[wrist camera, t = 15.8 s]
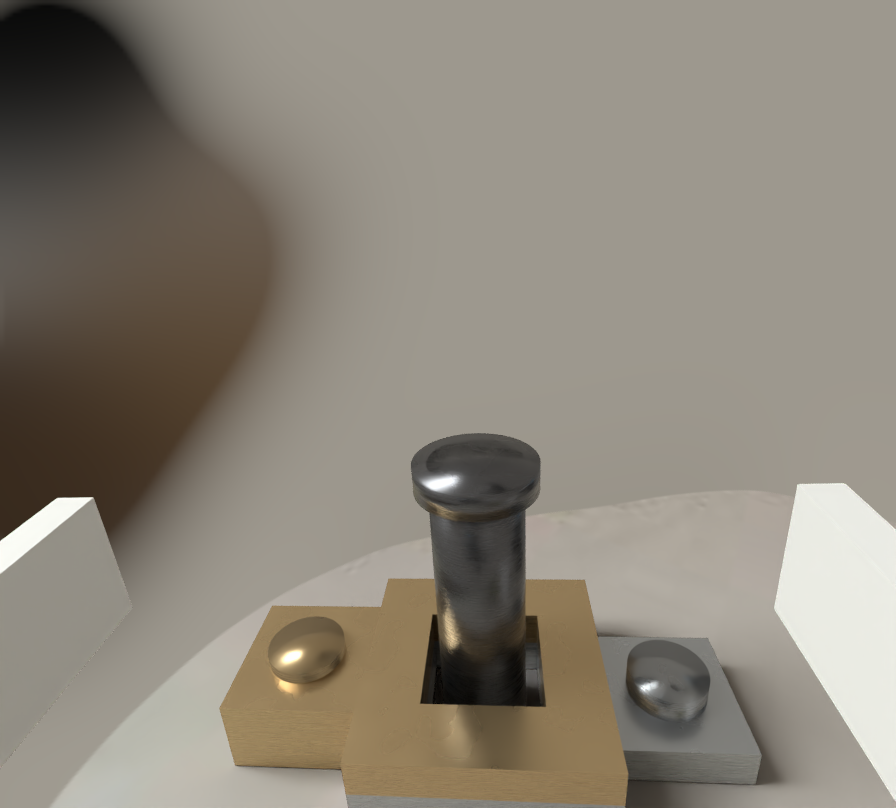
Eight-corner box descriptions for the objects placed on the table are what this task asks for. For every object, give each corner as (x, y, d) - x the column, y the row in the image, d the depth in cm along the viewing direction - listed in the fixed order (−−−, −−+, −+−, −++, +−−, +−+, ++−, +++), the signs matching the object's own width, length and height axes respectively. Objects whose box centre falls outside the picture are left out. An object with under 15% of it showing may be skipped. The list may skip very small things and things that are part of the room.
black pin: (534, 670, 30) (536, 432, 25) (542, 764, 25) (545, 493, 20) (437, 668, 31) (419, 434, 26) (427, 760, 26) (402, 494, 21)
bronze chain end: (582, 630, 33) (585, 571, 31) (622, 836, 23) (629, 762, 21) (296, 626, 34) (284, 569, 33) (212, 817, 24) (190, 747, 23)
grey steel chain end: (690, 632, 32) (695, 589, 31) (780, 843, 22) (794, 791, 21) (394, 628, 34) (389, 587, 33) (351, 823, 24) (342, 774, 22)
